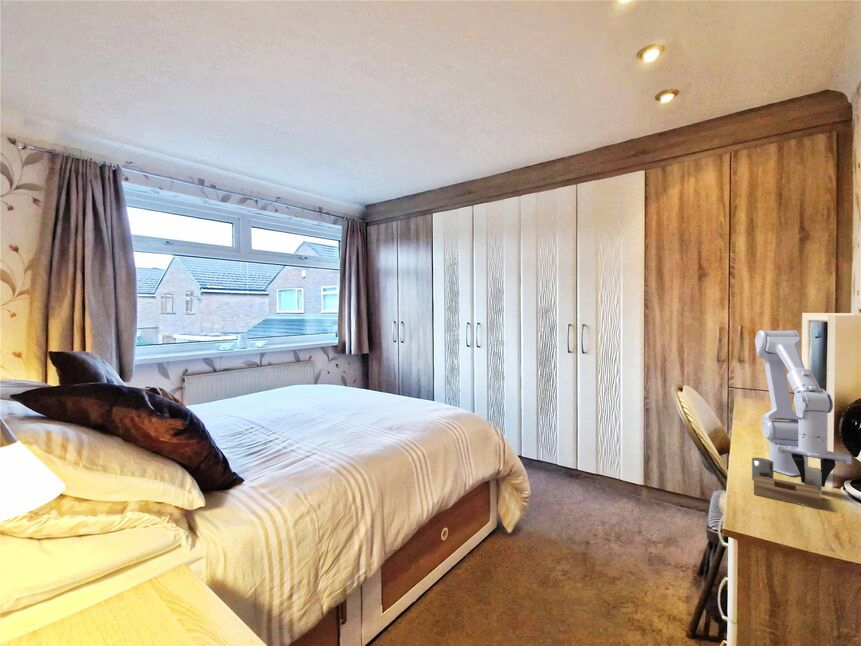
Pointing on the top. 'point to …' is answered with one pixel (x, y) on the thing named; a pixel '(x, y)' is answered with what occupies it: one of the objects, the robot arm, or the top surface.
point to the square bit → (813, 477)
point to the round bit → (762, 468)
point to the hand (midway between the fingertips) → (812, 483)
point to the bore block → (787, 491)
